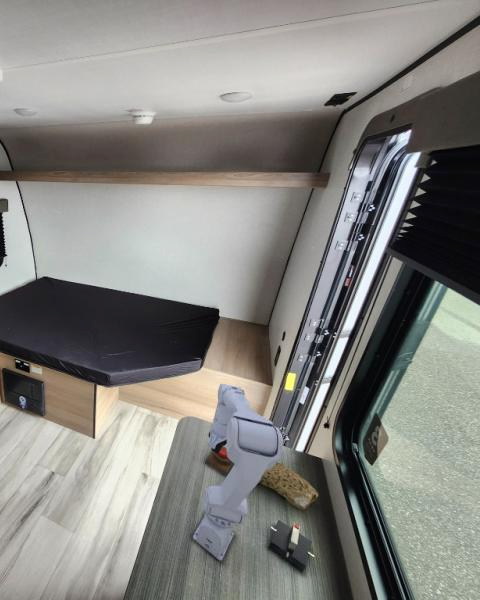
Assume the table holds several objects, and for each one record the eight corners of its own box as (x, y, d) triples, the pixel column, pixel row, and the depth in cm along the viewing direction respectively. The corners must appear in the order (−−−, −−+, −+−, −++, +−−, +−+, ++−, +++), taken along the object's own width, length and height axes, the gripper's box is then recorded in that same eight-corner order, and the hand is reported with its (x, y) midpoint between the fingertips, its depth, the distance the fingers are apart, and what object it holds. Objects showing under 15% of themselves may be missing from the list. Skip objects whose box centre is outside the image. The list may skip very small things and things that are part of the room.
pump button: (226, 460, 106) (227, 456, 106) (215, 454, 109) (216, 450, 108) (230, 454, 109) (231, 450, 108) (219, 448, 111) (220, 444, 110)
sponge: (313, 500, 99) (257, 447, 112) (325, 490, 94) (265, 436, 107) (288, 525, 94) (233, 466, 107) (299, 516, 89) (240, 456, 102)
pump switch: (225, 476, 104) (228, 468, 103) (205, 463, 109) (207, 455, 107) (236, 458, 111) (238, 451, 110) (216, 446, 115) (218, 439, 114)
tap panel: (306, 580, 78) (310, 573, 77) (262, 548, 84) (265, 541, 83) (313, 548, 85) (317, 541, 84) (272, 520, 91) (275, 513, 90)
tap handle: (293, 552, 81) (297, 544, 79) (286, 549, 82) (291, 540, 80) (296, 534, 85) (300, 525, 84) (290, 530, 86) (294, 521, 85)
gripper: (228, 439, 88) (218, 472, 94) (245, 413, 98) (235, 445, 103) (204, 425, 93) (196, 458, 98) (223, 402, 103) (214, 433, 108)
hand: (215, 450), depth 101 cm, fingers closed
